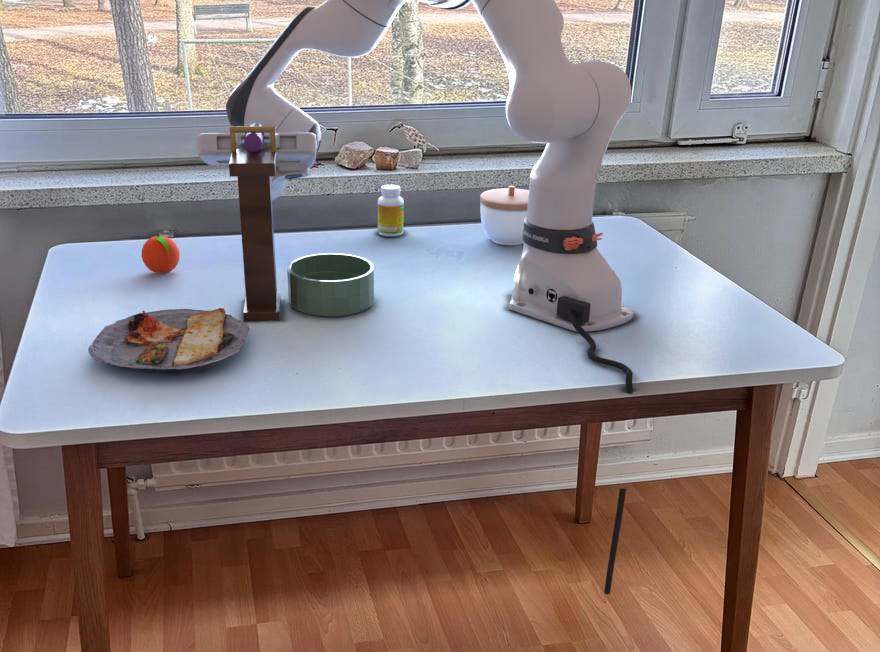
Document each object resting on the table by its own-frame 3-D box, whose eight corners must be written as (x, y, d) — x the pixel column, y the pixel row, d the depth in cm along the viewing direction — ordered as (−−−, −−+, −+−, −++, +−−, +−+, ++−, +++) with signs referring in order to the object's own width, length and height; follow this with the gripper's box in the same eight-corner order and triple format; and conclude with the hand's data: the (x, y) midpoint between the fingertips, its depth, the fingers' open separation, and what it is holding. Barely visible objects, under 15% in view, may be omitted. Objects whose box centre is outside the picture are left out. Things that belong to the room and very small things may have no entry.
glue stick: (248, 140, 169) (247, 122, 168) (264, 140, 169) (264, 122, 168) (244, 152, 159) (243, 133, 158) (262, 152, 159) (261, 133, 158)
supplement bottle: (403, 237, 208) (403, 190, 203) (377, 237, 208) (377, 189, 203) (403, 229, 212) (404, 183, 207) (378, 229, 212) (378, 183, 207)
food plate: (121, 318, 168) (118, 298, 166) (259, 321, 167) (257, 301, 165) (74, 381, 146) (70, 359, 144) (233, 385, 146) (231, 363, 144)
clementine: (189, 276, 186) (186, 238, 182) (154, 283, 182) (150, 244, 179) (172, 264, 191) (168, 227, 188) (138, 270, 188) (133, 233, 184)
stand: (243, 301, 175) (230, 123, 160) (284, 300, 176) (275, 123, 160) (239, 322, 167) (226, 137, 151) (283, 321, 167) (273, 137, 152)
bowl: (390, 307, 173) (390, 271, 170) (316, 324, 166) (315, 287, 163) (345, 282, 184) (344, 248, 180) (274, 298, 176) (272, 262, 173)
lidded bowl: (474, 247, 203) (477, 192, 197) (480, 229, 213) (483, 177, 208) (537, 251, 201) (542, 196, 195) (540, 233, 212) (544, 180, 206)
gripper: (200, 141, 177) (190, 114, 163) (316, 141, 179) (315, 114, 165) (201, 177, 177) (191, 153, 163) (317, 176, 179) (316, 152, 165)
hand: (254, 133), depth 164 cm, fingers closed on glue stick, 3 cm apart
